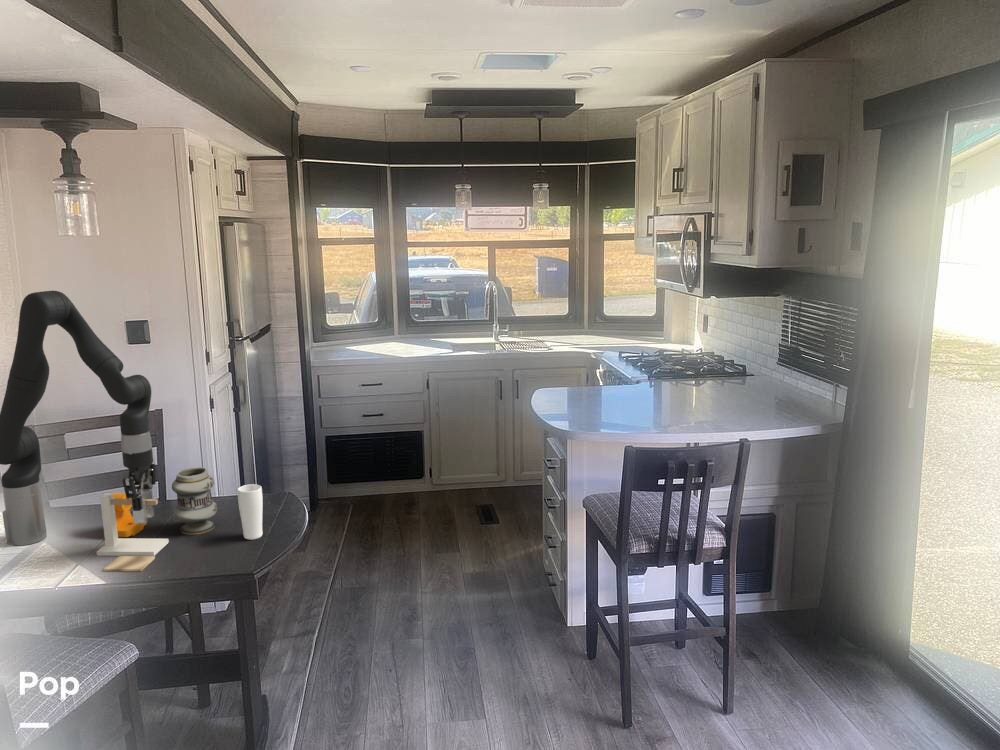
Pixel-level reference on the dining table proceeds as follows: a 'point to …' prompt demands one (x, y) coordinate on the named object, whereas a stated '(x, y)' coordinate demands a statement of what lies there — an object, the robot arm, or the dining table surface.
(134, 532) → the bracket
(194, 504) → the apothecary jar
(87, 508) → the dining table surface
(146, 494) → the c link
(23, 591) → the dining table surface
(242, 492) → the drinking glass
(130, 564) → the cork mat
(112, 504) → the stand
